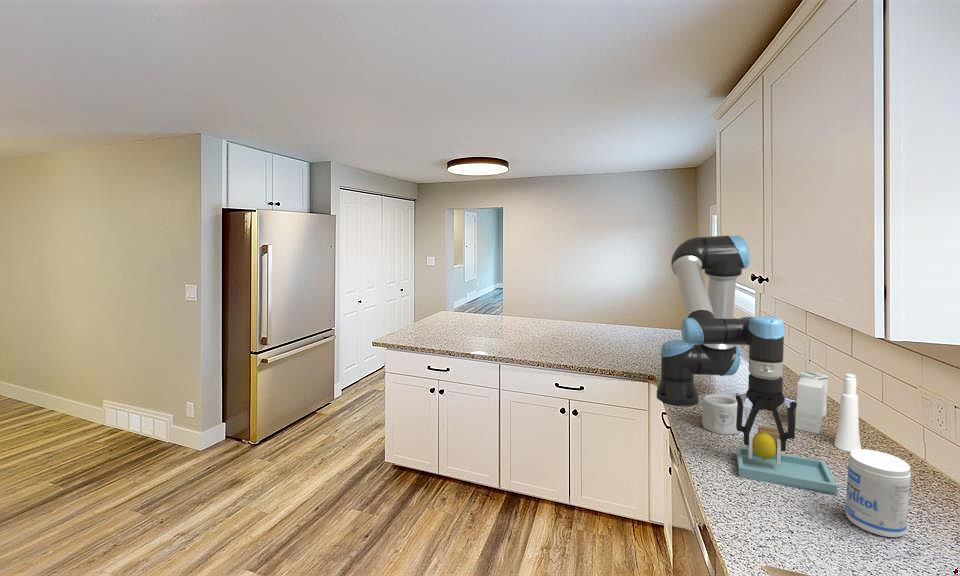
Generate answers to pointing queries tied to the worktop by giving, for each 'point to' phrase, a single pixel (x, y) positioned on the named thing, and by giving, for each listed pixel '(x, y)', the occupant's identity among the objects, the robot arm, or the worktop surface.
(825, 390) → the syrup box
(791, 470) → the tray
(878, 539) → the worktop surface
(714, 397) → the mug
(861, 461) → the supplement tub
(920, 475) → the worktop surface
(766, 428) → the walnut block
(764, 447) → the lemon
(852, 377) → the cosmetic bottle
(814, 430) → the skincare box
